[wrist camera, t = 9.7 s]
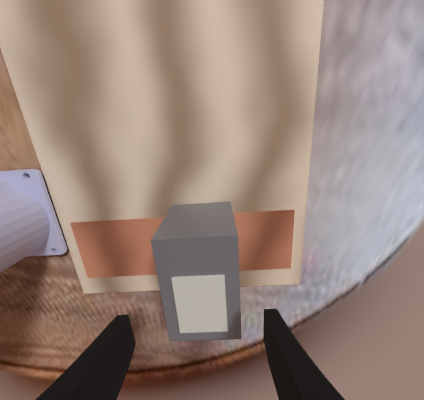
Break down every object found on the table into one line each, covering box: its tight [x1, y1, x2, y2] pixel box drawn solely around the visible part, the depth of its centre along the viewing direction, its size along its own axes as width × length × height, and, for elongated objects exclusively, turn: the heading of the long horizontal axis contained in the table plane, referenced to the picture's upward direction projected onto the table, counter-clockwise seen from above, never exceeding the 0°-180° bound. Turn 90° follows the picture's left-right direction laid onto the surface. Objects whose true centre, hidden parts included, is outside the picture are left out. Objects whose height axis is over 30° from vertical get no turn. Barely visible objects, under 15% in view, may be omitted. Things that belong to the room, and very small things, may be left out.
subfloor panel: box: [0, 0, 324, 294], centre depth 16 cm, size 22×24×1 cm
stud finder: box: [151, 202, 241, 341], centre depth 15 cm, size 5×8×6 cm, turn 4°
